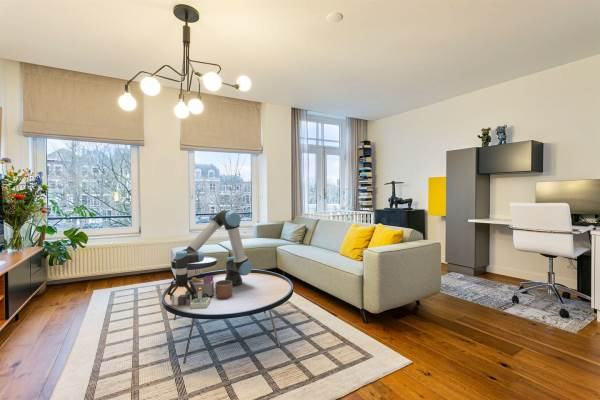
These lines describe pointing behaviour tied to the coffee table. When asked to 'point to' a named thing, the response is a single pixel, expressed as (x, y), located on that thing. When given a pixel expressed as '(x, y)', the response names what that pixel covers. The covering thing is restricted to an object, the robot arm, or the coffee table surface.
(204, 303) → the tray
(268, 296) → the coffee table surface
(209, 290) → the toy vehicle
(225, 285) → the planter
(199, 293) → the pin
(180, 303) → the chock
